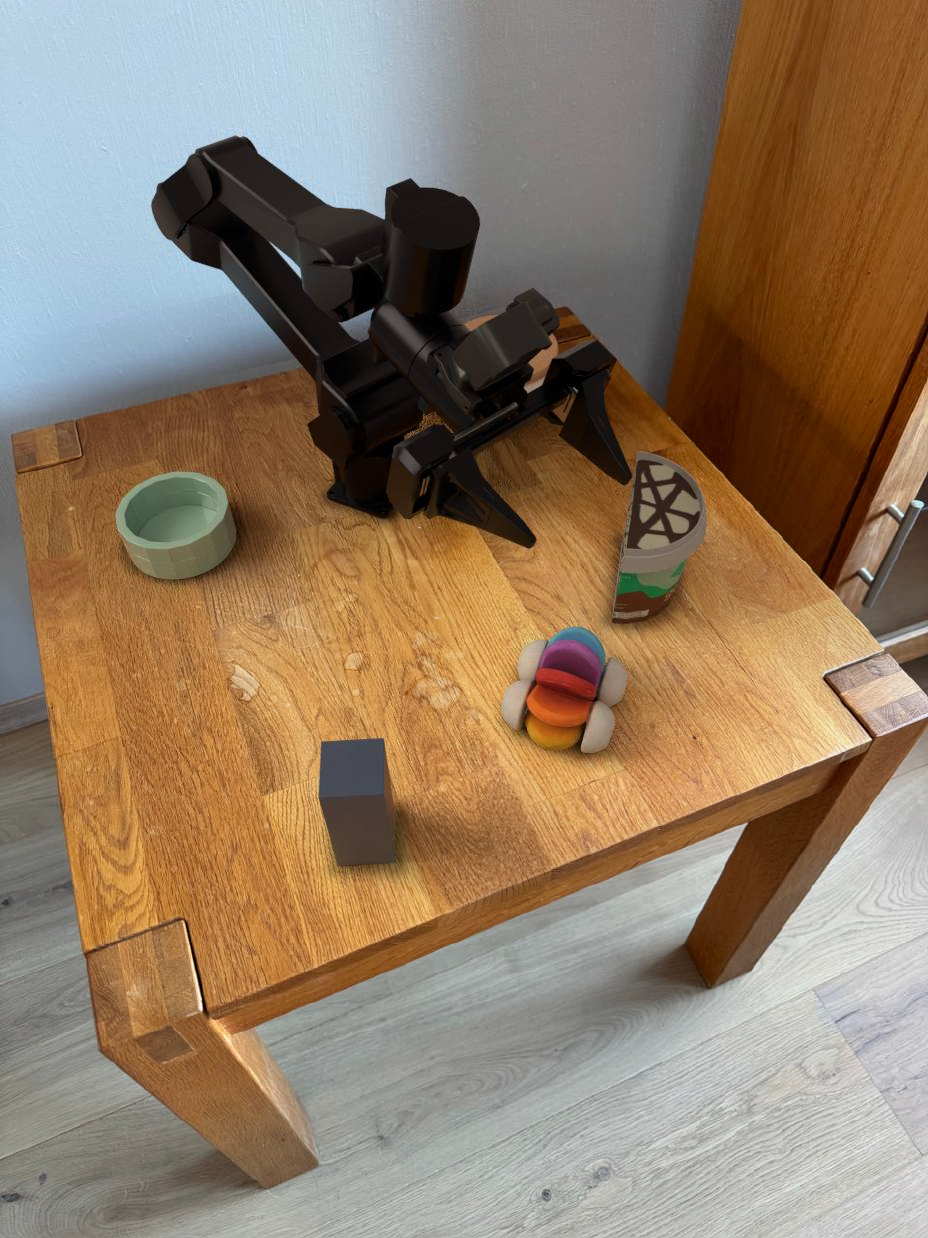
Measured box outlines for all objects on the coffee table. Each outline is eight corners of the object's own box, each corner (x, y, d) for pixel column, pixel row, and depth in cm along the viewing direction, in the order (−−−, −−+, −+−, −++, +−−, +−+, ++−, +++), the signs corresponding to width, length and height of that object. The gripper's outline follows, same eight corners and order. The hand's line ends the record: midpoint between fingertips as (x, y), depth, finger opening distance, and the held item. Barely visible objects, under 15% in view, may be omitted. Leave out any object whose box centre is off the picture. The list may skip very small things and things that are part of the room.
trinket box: (427, 408, 95) (423, 329, 87) (502, 365, 99) (504, 286, 92) (500, 458, 90) (502, 379, 82) (574, 411, 94) (583, 331, 87)
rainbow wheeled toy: (491, 743, 69) (492, 688, 64) (530, 647, 75) (534, 589, 69) (600, 776, 67) (611, 723, 62) (631, 675, 73) (644, 618, 67)
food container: (684, 647, 75) (708, 565, 67) (609, 636, 76) (624, 554, 68) (691, 540, 82) (714, 455, 75) (623, 531, 83) (638, 446, 75)
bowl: (107, 557, 82) (92, 526, 79) (174, 491, 87) (163, 459, 84) (193, 594, 79) (182, 562, 76) (257, 523, 84) (249, 491, 81)
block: (339, 813, 66) (321, 741, 58) (394, 810, 66) (384, 737, 58) (337, 866, 63) (318, 797, 56) (395, 863, 63) (384, 794, 56)
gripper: (341, 327, 55) (507, 512, 51) (562, 222, 63) (721, 377, 59) (332, 439, 65) (471, 601, 61) (524, 337, 72) (658, 476, 69)
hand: (582, 511), depth 62 cm, fingers open, 9 cm apart
